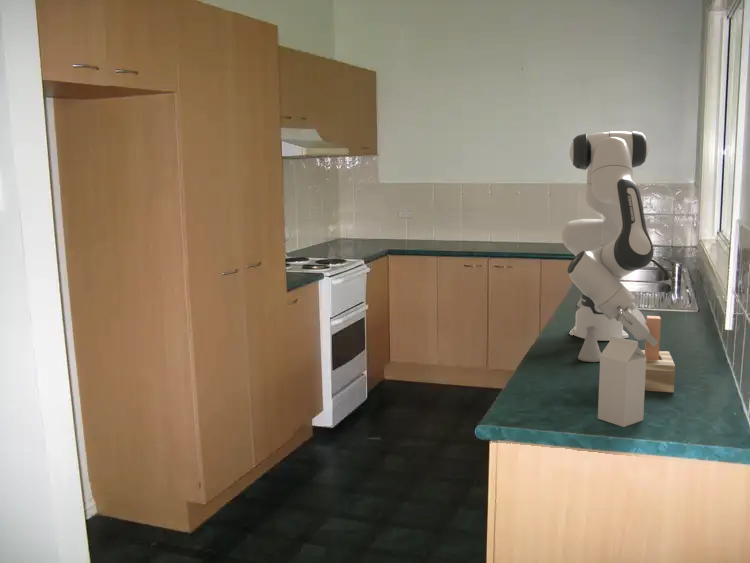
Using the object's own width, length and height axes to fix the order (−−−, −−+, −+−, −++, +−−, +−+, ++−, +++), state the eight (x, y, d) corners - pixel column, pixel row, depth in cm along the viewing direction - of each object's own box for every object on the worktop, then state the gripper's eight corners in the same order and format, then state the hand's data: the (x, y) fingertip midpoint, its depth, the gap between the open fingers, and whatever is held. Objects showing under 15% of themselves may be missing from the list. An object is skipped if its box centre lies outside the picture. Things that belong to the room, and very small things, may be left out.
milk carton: (624, 428, 162) (628, 344, 159) (597, 419, 168) (600, 338, 165) (643, 421, 166) (647, 339, 163) (616, 412, 172) (620, 333, 169)
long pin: (643, 370, 196) (646, 315, 193) (656, 371, 195) (659, 316, 192) (644, 374, 193) (647, 318, 190) (657, 375, 192) (660, 318, 189)
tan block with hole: (628, 374, 202) (629, 349, 201) (667, 376, 199) (668, 351, 198) (631, 389, 189) (633, 363, 188) (673, 392, 186) (675, 365, 185)
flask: (598, 356, 221) (599, 323, 219) (606, 362, 214) (607, 329, 212) (574, 356, 221) (575, 324, 219) (581, 363, 213) (583, 329, 212)
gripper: (629, 303, 182) (669, 343, 181) (624, 289, 202) (660, 325, 201) (609, 319, 184) (649, 360, 183) (606, 304, 204) (642, 340, 203)
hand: (655, 342), depth 192 cm, fingers closed on long pin, 3 cm apart
